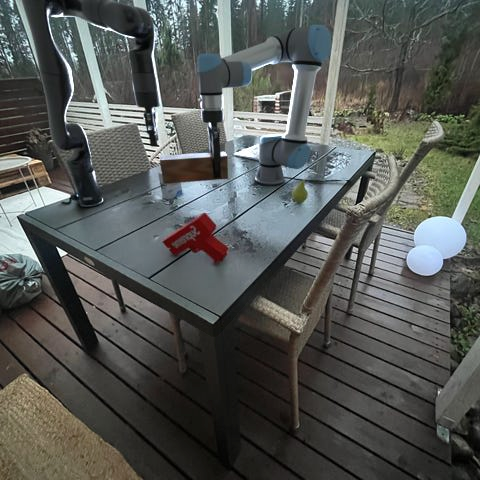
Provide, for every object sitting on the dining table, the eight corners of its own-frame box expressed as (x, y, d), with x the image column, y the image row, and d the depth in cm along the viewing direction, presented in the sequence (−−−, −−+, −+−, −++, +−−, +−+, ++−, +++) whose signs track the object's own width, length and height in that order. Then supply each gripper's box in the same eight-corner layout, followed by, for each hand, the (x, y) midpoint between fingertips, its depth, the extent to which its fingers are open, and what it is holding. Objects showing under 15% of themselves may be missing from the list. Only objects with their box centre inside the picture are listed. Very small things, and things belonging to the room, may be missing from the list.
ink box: (177, 191, 132) (173, 167, 126) (183, 194, 129) (179, 170, 123) (161, 196, 127) (157, 172, 121) (167, 199, 124) (163, 174, 118)
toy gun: (235, 250, 84) (205, 211, 80) (230, 257, 81) (199, 217, 77) (197, 268, 94) (169, 235, 90) (191, 276, 91) (162, 241, 87)
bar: (225, 173, 108) (224, 151, 103) (228, 178, 103) (227, 155, 98) (163, 178, 104) (160, 155, 99) (163, 183, 99) (159, 160, 94)
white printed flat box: (278, 164, 168) (279, 155, 165) (234, 155, 185) (234, 147, 183) (298, 154, 186) (299, 146, 183) (256, 147, 204) (256, 139, 201)
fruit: (288, 200, 123) (290, 174, 116) (302, 197, 125) (305, 172, 119) (296, 206, 118) (299, 179, 111) (310, 203, 120) (314, 177, 114)
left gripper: (136, 88, 90) (145, 138, 99) (131, 91, 78) (141, 149, 87) (159, 87, 91) (166, 138, 100) (157, 91, 80) (165, 147, 88)
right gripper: (198, 106, 99) (204, 168, 112) (203, 113, 83) (209, 184, 96) (219, 105, 100) (222, 166, 113) (227, 112, 85) (230, 183, 97)
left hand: (154, 143), depth 94 cm, fingers open, 8 cm apart
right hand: (216, 175), depth 104 cm, fingers closed on bar, 6 cm apart
